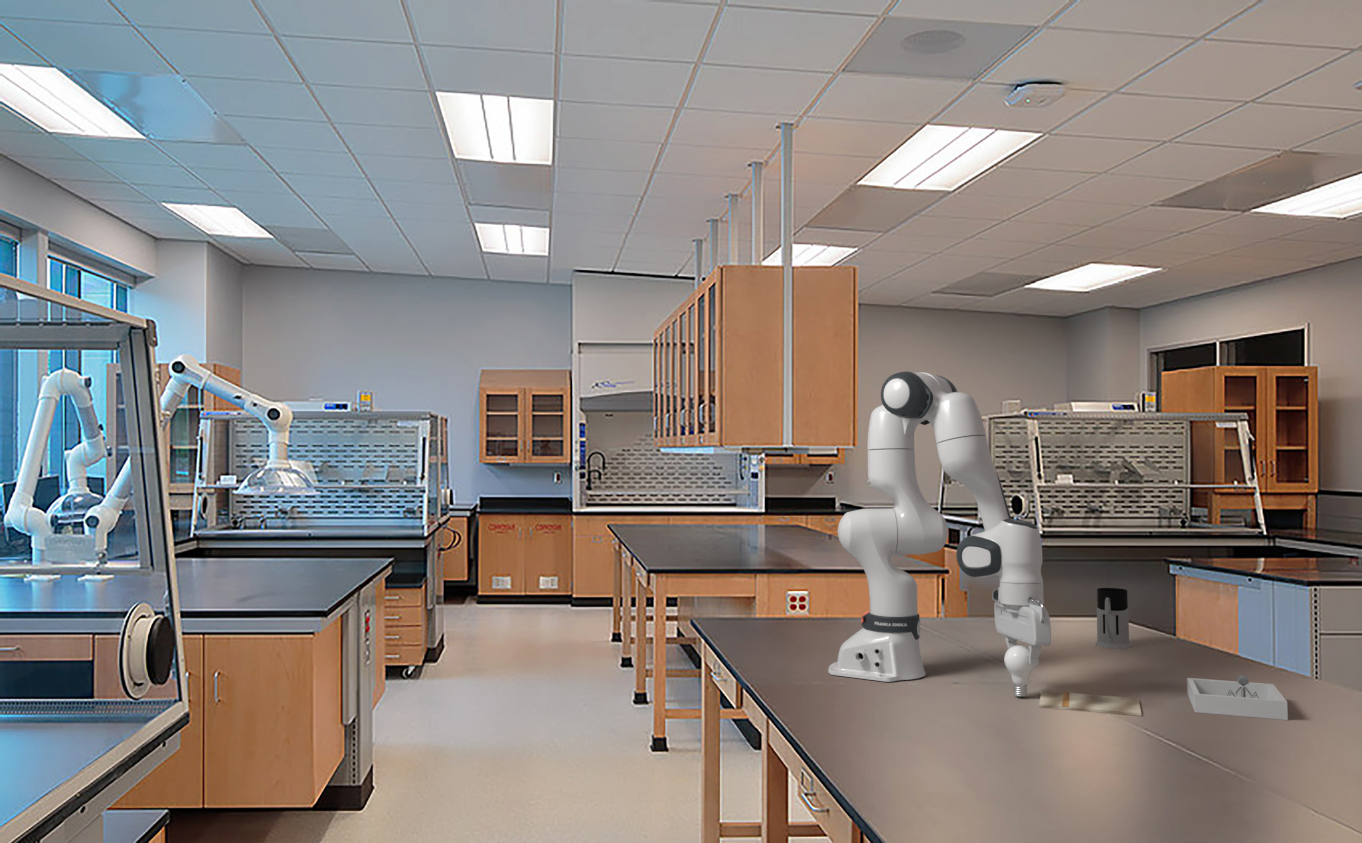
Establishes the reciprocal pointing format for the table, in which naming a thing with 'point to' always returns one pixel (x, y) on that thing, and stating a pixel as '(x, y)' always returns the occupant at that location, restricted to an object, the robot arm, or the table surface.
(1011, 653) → the lightbulb
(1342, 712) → the table surface
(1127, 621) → the glass holder
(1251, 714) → the specimen tray
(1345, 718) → the table surface
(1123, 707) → the board
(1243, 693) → the bacteriophage
